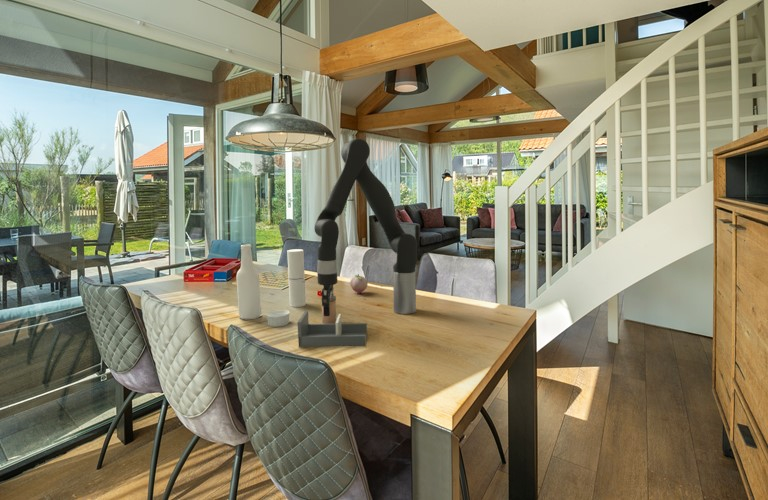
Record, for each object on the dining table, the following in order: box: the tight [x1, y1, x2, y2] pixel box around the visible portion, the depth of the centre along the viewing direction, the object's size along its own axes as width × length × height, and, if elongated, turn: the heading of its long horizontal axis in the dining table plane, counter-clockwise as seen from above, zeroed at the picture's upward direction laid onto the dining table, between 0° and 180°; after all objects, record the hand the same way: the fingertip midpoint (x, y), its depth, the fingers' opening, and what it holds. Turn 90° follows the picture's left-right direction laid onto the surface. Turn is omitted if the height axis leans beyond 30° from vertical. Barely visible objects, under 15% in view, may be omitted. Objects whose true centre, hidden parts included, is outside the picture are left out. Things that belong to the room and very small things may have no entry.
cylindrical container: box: [286, 248, 307, 308], centre depth 179 cm, size 7×7×25 cm
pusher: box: [335, 313, 342, 335], centre depth 137 cm, size 1×10×7 cm, turn 0°
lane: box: [297, 310, 368, 348], centre depth 137 cm, size 22×13×8 cm, turn 90°
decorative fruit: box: [349, 274, 369, 294], centre depth 199 cm, size 9×8×10 cm
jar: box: [320, 295, 337, 324], centre depth 154 cm, size 6×6×11 cm
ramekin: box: [265, 309, 291, 328], centre depth 155 cm, size 9×9×4 cm
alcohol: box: [236, 243, 262, 321], centre depth 162 cm, size 9×9×30 cm
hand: (328, 312), depth 154 cm, fingers open, 8 cm apart
